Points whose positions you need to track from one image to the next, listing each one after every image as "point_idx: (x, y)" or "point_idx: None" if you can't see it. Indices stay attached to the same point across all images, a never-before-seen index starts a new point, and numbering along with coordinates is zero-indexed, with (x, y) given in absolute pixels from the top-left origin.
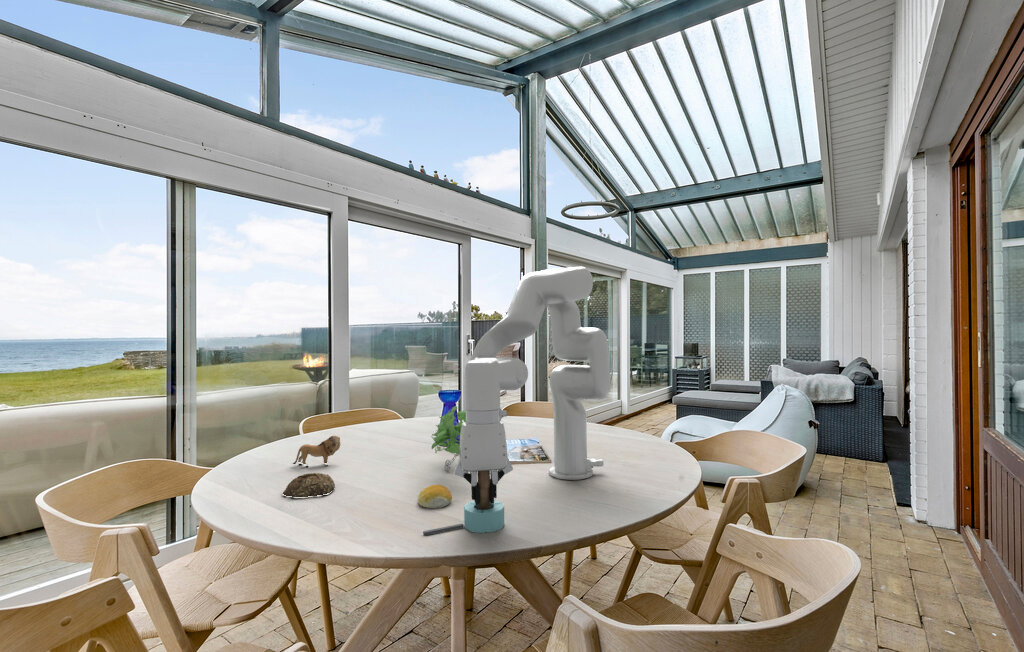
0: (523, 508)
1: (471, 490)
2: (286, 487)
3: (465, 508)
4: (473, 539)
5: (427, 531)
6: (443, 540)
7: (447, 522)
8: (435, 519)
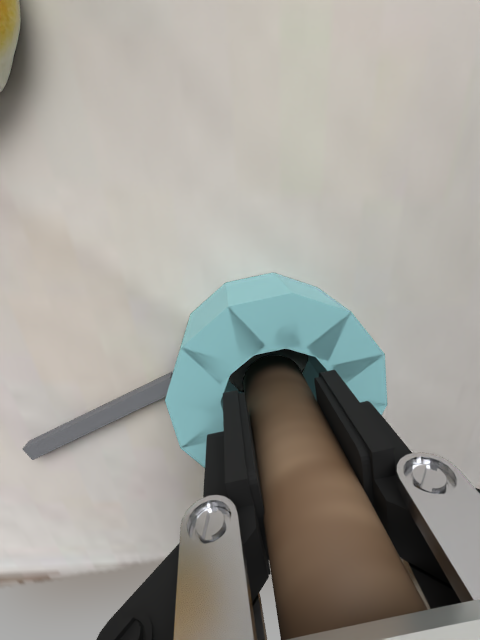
0: (471, 152)
1: (205, 466)
2: None
3: (179, 435)
4: None
5: (41, 450)
6: (125, 481)
7: (95, 330)
8: (22, 293)
